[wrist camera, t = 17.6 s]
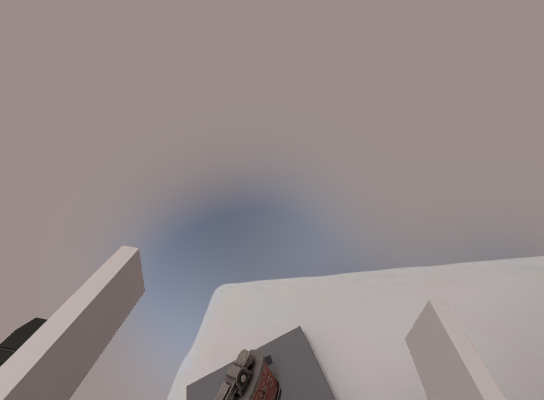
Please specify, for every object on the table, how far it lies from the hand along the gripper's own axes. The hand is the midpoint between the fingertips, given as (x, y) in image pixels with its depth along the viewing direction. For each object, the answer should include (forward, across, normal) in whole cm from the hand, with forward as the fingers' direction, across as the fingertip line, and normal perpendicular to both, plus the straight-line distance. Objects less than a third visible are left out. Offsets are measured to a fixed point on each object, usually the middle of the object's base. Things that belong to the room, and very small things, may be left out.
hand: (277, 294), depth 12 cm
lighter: (+7, +2, -29) cm, 30 cm away
